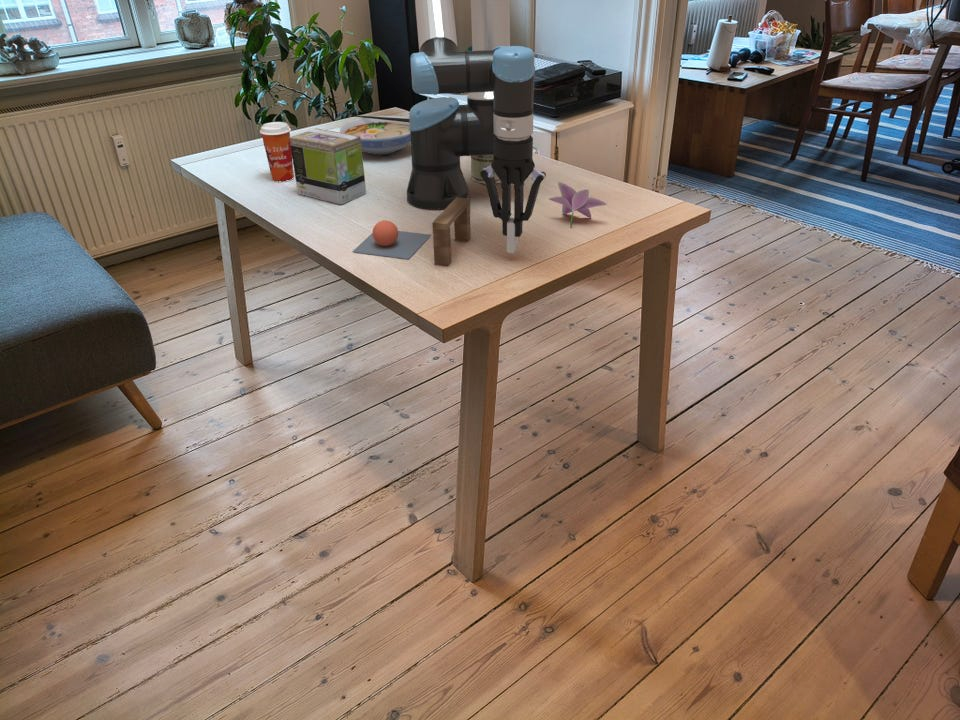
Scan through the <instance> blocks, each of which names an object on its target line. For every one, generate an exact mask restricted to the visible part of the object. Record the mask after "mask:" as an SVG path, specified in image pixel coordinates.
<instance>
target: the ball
mask: <svg viewBox="0 0 960 720" xmlns="http://www.w3.org/2000/svg"><path fill="white" fill-rule="evenodd" d="M398 231H399V229H398V227H397V225H396V224H395V223H394V222H392V221H390V220H388V219H387V220H380V221H378V222H377V223H375V225H374V226H373V229H372V232H371V234H373V238H374V240H375V241H376V243H378V244H379V245H381V246H390V245H392V244H393V243H395V242H396V240H397V238H398Z"/></svg>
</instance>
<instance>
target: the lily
mask: <svg viewBox="0 0 960 720" xmlns="http://www.w3.org/2000/svg"><path fill="white" fill-rule="evenodd" d="M557 185H558V188H559V191H560V195H561V196H555V197H553V196H552V197H550V198H548V200H549V201H551V202H554V203H558V204H561V205H562V208H561V209H562V210H561V212H562V214H563V215H567V214H570V213H571V218H570V223H569V224H570V225H569V229H570V228H571V229H572V225H573V217H574V213H575V212H576V211H577V212H578V213H580V214H582V215H583V216H585V217H587V218H588V217H590V218H589V219H591V218H592V213H591V210H590V208H595V207H600V206H601V207H602V206H606V205H608V204H607V203H606V202H605V201H602V200H601V199H599V198H594V197H592V196H591V197H590V196H589V195H590V190H589V189H582V190H580V191H576V190H575V189H574V188H573V187H572V186H569V185H568V184H565V183H563V182H562V181H561V182H558V184H557Z"/></svg>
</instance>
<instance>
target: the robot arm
mask: <svg viewBox="0 0 960 720" xmlns="http://www.w3.org/2000/svg"><path fill="white" fill-rule="evenodd" d="M510 2H511V1H510V0H470V14H471V46H472V47H471V49H472V50H462V51H461V50H458V47H459V46H458V40H457V39H458V38H457V37H458V36H457V32H456V29H457V28H456V20H455V9H454V0H414V3H415V16H416V28H417V38H418V39H417V40H418V49H419V50H418V51H419V52H413V53H412V54H411V55H410V70H411V71H410V73H411V87H412V90H413V92H414V93H416V94H418V95H434V96H435V95H441V94H442V95H443V94H459V93H460V94H462V93H463V94H464V93H468V94H467V96H466V99H467V100H466V101H467V104H460V102H459V100H458V99H457V98H455V97H452V96H450V97H446V96H443V97H435V98H430V99H426V100H422V101H420V102H418V103H416V104H415V105H413V106H412V107H411V108H410V110H409V114H408V116H409V117H408V118H409V131H410V139H411V142H410V156H411V173H410V177H409V181H408V184H407V189H406V200H407V202H408V204H410V205H411V206H413V207H414V208H419V209H423V210H445V209H446V208H447V207H448V206H449V205H450V203H451V202H452V201H453V200H454V199H455V198H456V197H460V198H469V188H468V185H467V182H466V180H465V176H464V173H463V171H462V168H461V157H471V156H476V155H494V158H493V161H492V163H491V165H490V166H489V167H485V168H484V169H483V170H482V171H481V172H480V175H481V176H482V178H483V180H484V181H485V183H486V184H485V187H486V191H487V195H488V196H487V197H488V199H489V204H490V207H491V212H492V214H493V215H492V216H493V217H494V218H496V219H497V218H498V219H500V220H501V222H502V226H501V227H502V231H501V232H502V235H503V236H506V253H510V254H515V253H516V251H517V249H518V243H519V241H518V238H520V237H521V236H522V234H523V224H524V223H523V222H524V221H525V222H527V221H529V220H530V218H531V216H532V215H533V212H534V207H535V204H536V201H537V197H538V194H539V190H540V187H541V184H542V182H543V181H544V180H545V178H546V176H547V173H546V172H545V171H539V169H537V168H536V165H535V162H534V159H533V156H534V155H533V149H534V137H533V136H532V135H533V134H534V102H535V101H534V94H535V73H536V66H535V52H534V50H533V49H532V48H529V47H526V46H522V45H511V27H510V26H511V19H510V18H511V12H510V11H511V10H510ZM494 172H495V173H496V175H497V176H498V178H499V179H500V181H501V183H500V189H501V199H500V196H499V192H498V187H497V183H496V182H495V178H494ZM530 175H531V181H532V182H533V183H532V184H531V185H530V186H531V187H530V190H529V194H528V197H527V201H526V204H525V208H524V192H525V190H524V186H525V182H526V181H527V179H528V178H529V176H530ZM512 185H513V190H514V192H513V193H514V205H513V206H514V208H513V209H514V211H513V213H514V215H513V216H514V217H511V216H512Z"/></svg>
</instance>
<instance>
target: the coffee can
mask: <svg viewBox="0 0 960 720" xmlns="http://www.w3.org/2000/svg"><path fill="white" fill-rule="evenodd" d="M493 158H494V155H476V156H470V169H471V171H470V173H471V175H470V176H471V177H470V178H471V180H472V181H473V182H476V183H477V184H478V183H479V184H484V185H486V183H485V181H484V180H483V178H482V176H481V175H480V172H481V171H482V170H483V169H484V168H485V167H489V166H490V165H491V163H492V161H493ZM494 178H495V182H496V184H501V181H500V179H499V178H498V176H497V175H496V173H495V172H494Z"/></svg>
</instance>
